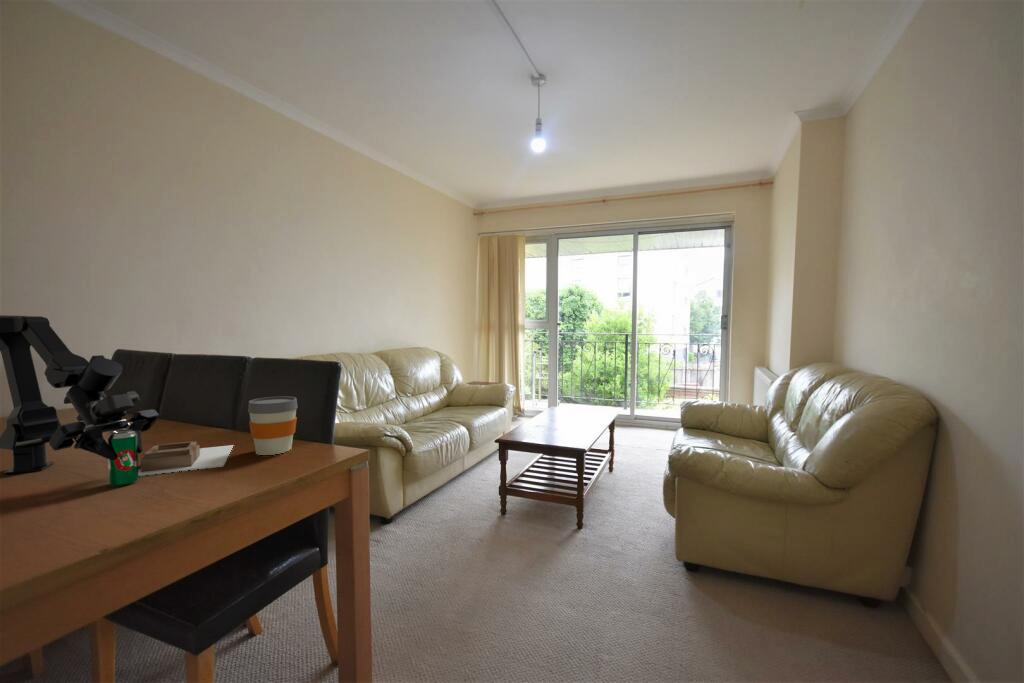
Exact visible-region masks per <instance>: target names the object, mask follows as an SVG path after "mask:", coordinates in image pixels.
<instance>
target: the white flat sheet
mask: <svg viewBox="0 0 1024 683" xmlns="http://www.w3.org/2000/svg"><path fill="white" fill-rule="evenodd" d="M233 446H234V447H235V445H234V444H230V445H220V446H211V447H201V448H200V456H199V457H198V458H197V460H196V461H195V462H194V464H193V465H192V466H189V467H181V468H172V469H163V470H155V471H146V472H145V471H144V472H141V467H140V468H138V475H139V476H140V477H146V476H145V475H149V476H154V475H155V474H157V475H163V474H162V473H165V474H172V473H171V472H174V473H179V471H180V473H181V471H182V472H188V470H190V471H196V470H197V469H199V470H206V468H207V469H213V468H222V467H224V466H225V464H226V462H227V460H228V459H229V457H230V455H231V453H232V451H233V449H234V448H233ZM232 448H233V449H232ZM231 450H232V451H231ZM230 452H231V453H230ZM229 454H230V455H229ZM228 456H229V457H228ZM227 458H228V459H227ZM197 471H198V470H197ZM155 476H156V475H155Z"/></svg>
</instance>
